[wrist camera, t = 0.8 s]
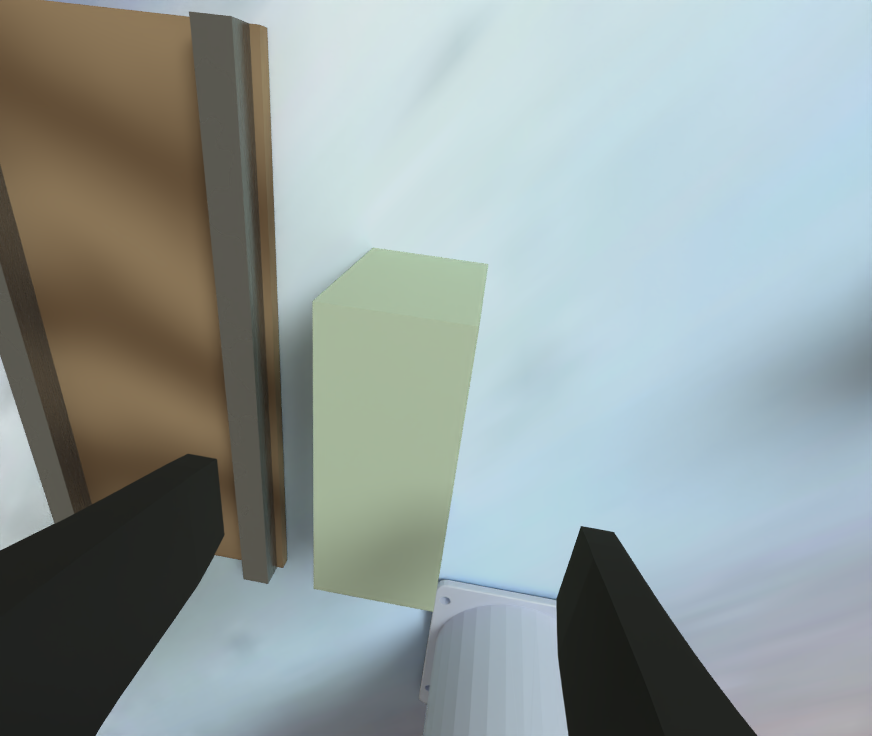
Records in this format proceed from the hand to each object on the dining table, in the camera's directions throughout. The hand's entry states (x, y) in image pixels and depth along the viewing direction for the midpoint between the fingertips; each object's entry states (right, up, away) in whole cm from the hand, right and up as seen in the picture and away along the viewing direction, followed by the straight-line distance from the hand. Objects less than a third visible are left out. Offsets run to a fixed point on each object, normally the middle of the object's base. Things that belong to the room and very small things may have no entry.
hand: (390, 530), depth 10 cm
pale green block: (0, +3, +9) cm, 10 cm away
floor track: (-11, +4, +10) cm, 15 cm away
